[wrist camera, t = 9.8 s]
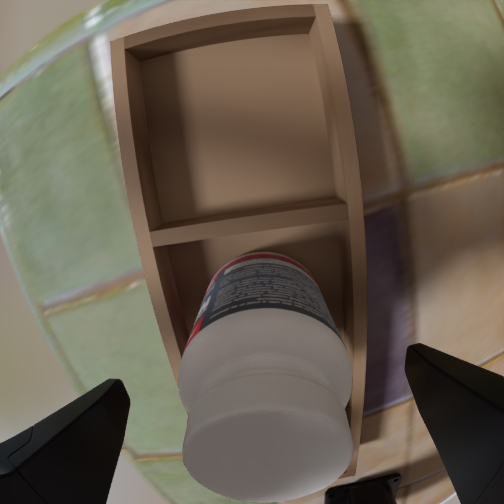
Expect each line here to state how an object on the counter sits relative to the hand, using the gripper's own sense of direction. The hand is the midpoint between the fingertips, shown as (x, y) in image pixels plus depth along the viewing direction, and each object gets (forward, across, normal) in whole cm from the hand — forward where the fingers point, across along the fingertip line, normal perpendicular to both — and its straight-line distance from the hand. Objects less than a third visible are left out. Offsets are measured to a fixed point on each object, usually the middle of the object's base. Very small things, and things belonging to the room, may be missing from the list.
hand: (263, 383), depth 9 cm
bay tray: (+6, 0, 0) cm, 7 cm away
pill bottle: (+6, 0, 0) cm, 6 cm away
